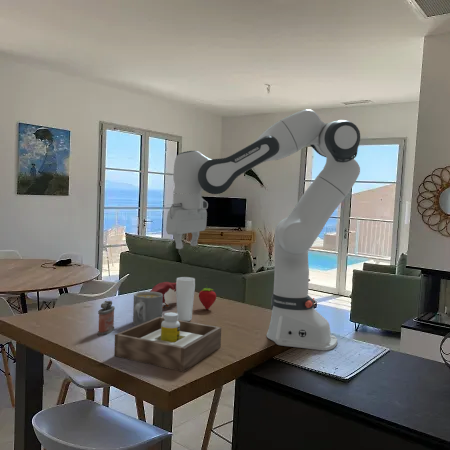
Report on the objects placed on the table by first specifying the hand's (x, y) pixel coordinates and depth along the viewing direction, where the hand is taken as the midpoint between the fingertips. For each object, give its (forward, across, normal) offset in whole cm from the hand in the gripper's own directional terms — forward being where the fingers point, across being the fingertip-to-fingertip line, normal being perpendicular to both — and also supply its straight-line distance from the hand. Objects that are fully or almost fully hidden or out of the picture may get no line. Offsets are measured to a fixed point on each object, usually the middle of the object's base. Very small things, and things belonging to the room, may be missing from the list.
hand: (186, 247), depth 143 cm
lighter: (+28, -9, +24) cm, 38 cm away
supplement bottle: (+28, -14, -2) cm, 31 cm away
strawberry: (+29, +35, +9) cm, 46 cm away
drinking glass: (+29, +17, +10) cm, 35 cm away
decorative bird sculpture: (+29, +27, +26) cm, 47 cm away
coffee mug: (+28, +5, +19) cm, 35 cm away
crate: (+28, -15, -3) cm, 32 cm away
